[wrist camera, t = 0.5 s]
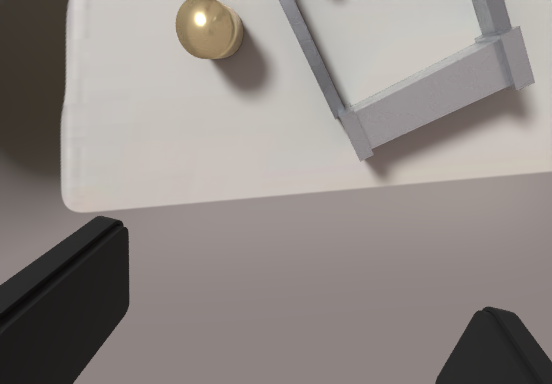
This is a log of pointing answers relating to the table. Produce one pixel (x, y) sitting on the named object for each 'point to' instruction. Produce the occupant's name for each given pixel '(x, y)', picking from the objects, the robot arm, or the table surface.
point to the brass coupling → (208, 29)
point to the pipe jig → (427, 80)
